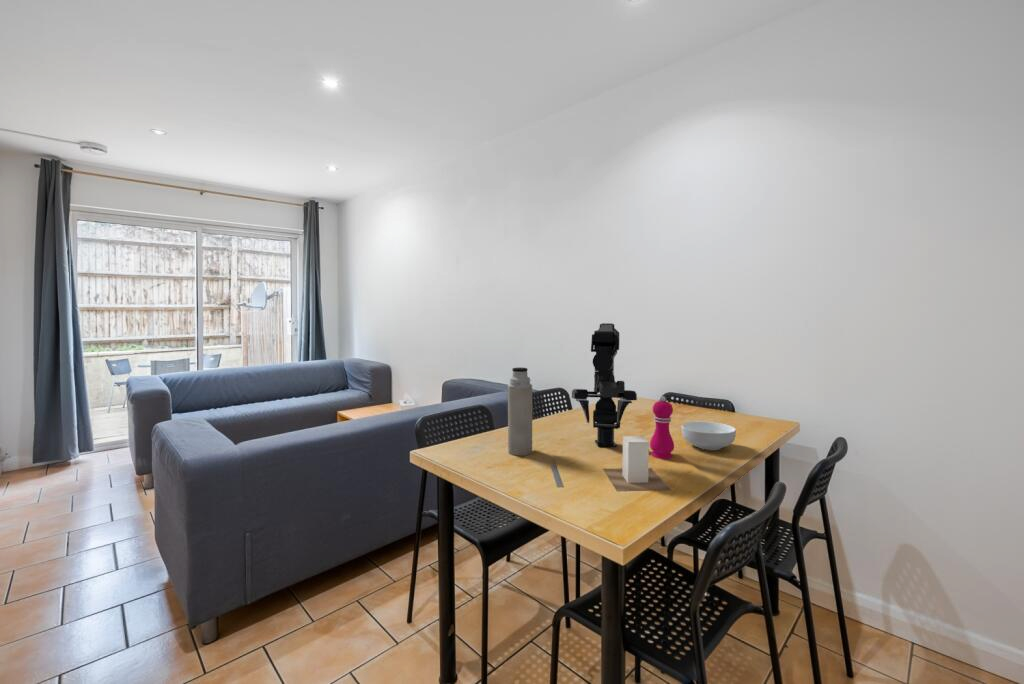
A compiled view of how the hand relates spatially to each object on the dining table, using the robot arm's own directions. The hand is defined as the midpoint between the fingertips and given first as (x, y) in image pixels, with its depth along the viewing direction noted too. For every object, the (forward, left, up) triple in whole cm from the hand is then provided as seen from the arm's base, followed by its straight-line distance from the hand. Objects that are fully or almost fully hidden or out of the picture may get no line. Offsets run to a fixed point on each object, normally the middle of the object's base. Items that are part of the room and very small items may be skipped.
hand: (603, 423), depth 138 cm
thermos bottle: (-13, -25, -13) cm, 31 cm away
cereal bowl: (-16, +39, -13) cm, 44 cm away
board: (+15, +5, -13) cm, 21 cm away
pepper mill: (-4, +19, -13) cm, 23 cm away
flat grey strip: (+10, -10, -13) cm, 19 cm away
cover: (+15, +5, -11) cm, 20 cm away
